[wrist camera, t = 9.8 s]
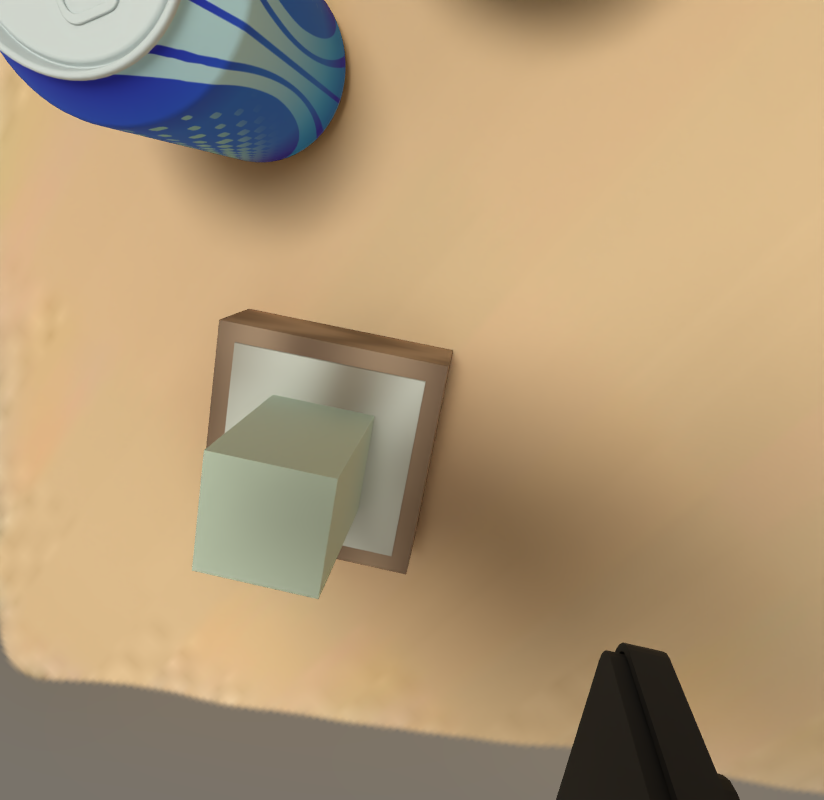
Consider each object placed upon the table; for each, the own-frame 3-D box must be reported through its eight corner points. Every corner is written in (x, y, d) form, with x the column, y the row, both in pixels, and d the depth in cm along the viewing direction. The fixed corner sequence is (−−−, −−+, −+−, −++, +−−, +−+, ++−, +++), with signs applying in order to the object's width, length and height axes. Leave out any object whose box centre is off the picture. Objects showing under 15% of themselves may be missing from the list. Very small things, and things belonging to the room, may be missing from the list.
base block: (452, 350, 34) (448, 367, 30) (414, 537, 37) (405, 575, 33) (248, 309, 35) (218, 320, 31) (227, 496, 38) (196, 529, 34)
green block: (374, 416, 31) (337, 479, 24) (358, 510, 33) (318, 599, 25) (272, 394, 32) (203, 450, 24) (260, 489, 33) (192, 570, 25)
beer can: (162, 127, 33) (-119, 47, 18) (208, -55, 31) (-71, -329, 15) (318, 190, 33) (170, 165, 18) (376, 12, 31) (264, -195, 15)
